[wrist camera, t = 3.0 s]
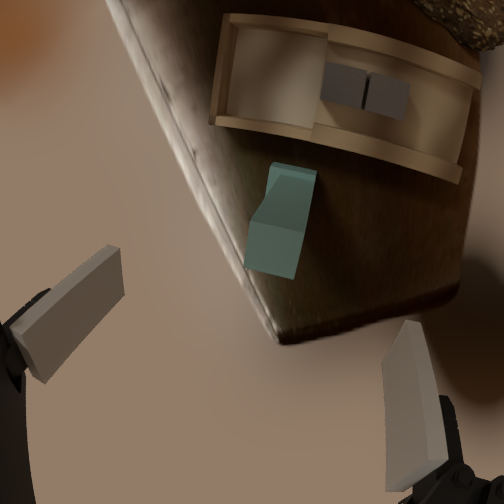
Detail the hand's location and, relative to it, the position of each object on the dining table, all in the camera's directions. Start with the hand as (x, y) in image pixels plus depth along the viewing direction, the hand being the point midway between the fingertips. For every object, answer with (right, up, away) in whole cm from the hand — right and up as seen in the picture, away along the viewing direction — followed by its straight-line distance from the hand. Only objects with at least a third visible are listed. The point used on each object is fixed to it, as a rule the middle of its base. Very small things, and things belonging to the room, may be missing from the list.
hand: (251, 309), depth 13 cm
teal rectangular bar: (+4, +8, +15) cm, 18 cm away
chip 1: (+7, +15, +7) cm, 18 cm away
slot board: (+8, +16, +10) cm, 21 cm away
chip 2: (+10, +14, +7) cm, 19 cm away
